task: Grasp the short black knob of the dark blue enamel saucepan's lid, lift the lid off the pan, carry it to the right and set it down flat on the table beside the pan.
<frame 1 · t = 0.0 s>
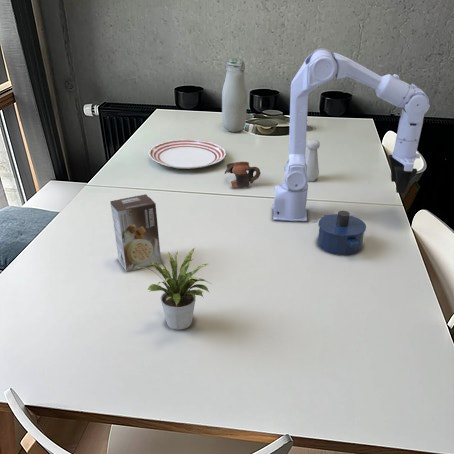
hand: (397, 186, 142), 10 cm above the table, tool pointing down, fingers open, 7 cm apart
lid: (342, 226, 133), point 5 cm above the table, touching pot
cracker box: (139, 262, 128), on the table
house plant: (174, 325, 107), on the table
glass bottle: (234, 131, 215), on the table
dinner plate: (187, 160, 186), on the table
salt shaker: (309, 179, 173), on the table
pottery mug: (242, 183, 169), on the table
pot: (339, 244, 136), on the table
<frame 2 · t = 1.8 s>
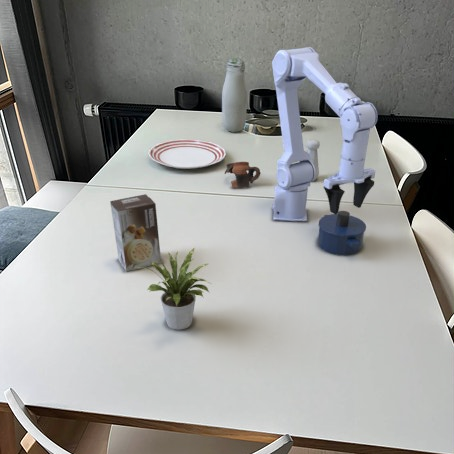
hand: (345, 209, 130), 10 cm above the table, tool pointing down, fingers open, 7 cm apart
nothing on the table moved.
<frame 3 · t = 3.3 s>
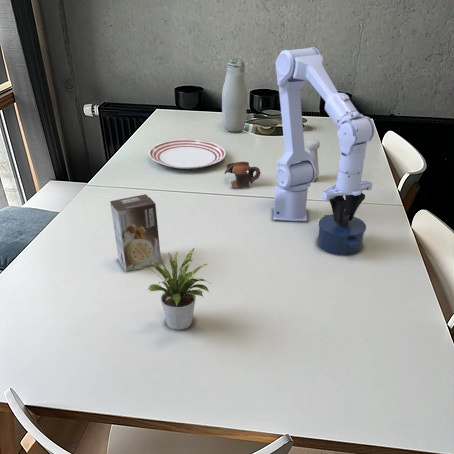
hand: (342, 220, 132), 7 cm above the table, tool pointing down, fingers closed on lid, 3 cm apart
lid: (342, 225, 133), point 5 cm above the table, touching gripper, pot
everything else where it was.
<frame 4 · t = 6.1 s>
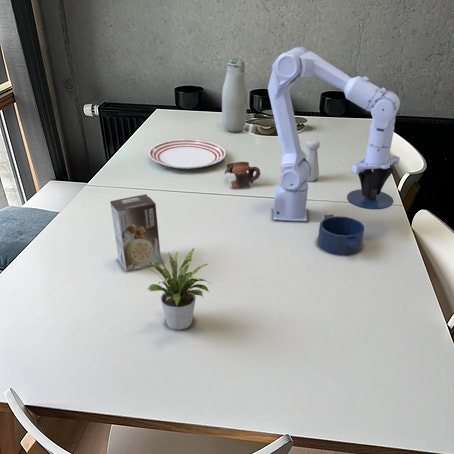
hand: (370, 194, 137), 10 cm above the table, tool pointing down, fingers closed on lid, 3 cm apart
lid: (369, 199, 138), point 9 cm above the table, touching gripper
everything else where it was.
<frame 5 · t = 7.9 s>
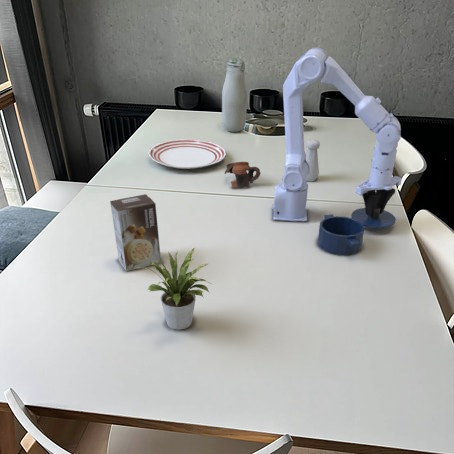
hand: (373, 213, 143), 4 cm above the table, tool pointing down, fingers closed on lid, 3 cm apart
lid: (373, 218, 144), point 2 cm above the table, touching gripper
everything else where it was.
when the fingers open (2 cm above the table, at t = 8.8 s): lid stays where it is, point 1 cm above the table.
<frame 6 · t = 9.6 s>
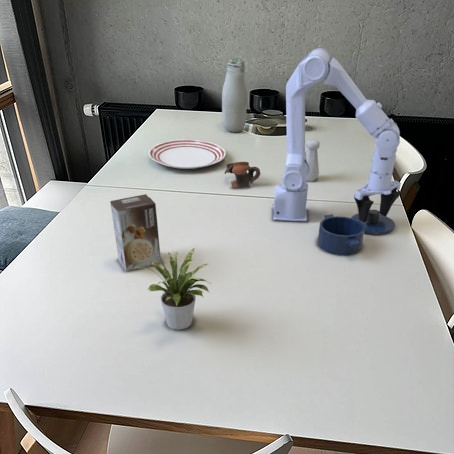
hand: (372, 217, 144), 2 cm above the table, tool pointing down, fingers open, 7 cm apart
lid: (372, 223, 145), point 1 cm above the table
everything else where it was.
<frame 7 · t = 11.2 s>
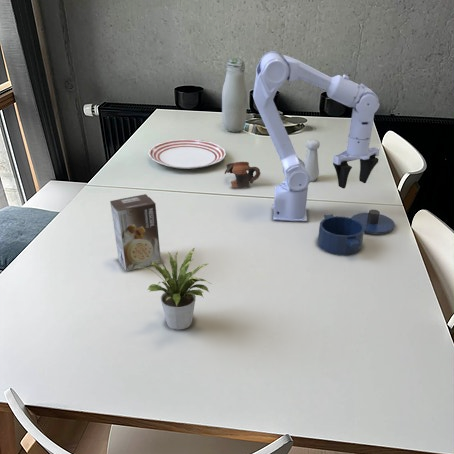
hand: (352, 184, 145), 9 cm above the table, tool pointing down, fingers open, 7 cm apart
nothing on the table moved.
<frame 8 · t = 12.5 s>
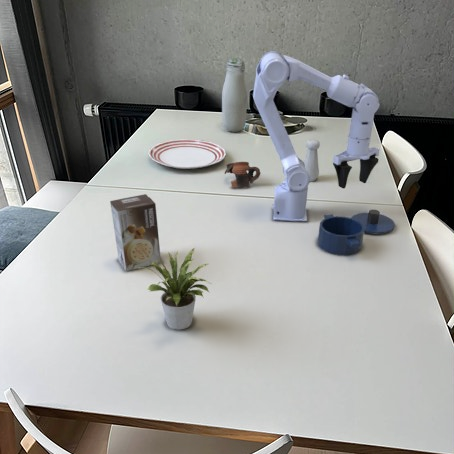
hand: (352, 184, 145), 9 cm above the table, tool pointing down, fingers open, 7 cm apart
nothing on the table moved.
at the end: lid inside the target area (0.1 cm from its centre), point 0.6 cm above the table; lid tilted 0°; the gripper is holding nothing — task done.
